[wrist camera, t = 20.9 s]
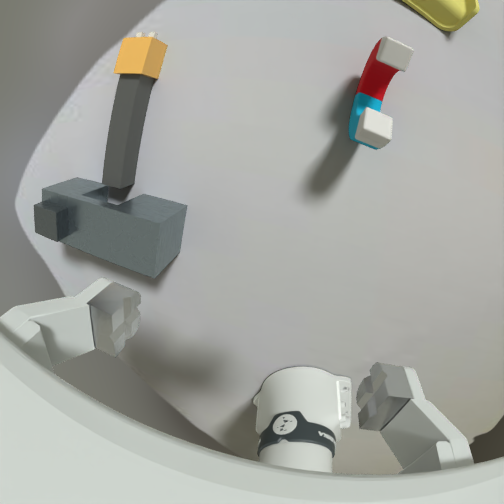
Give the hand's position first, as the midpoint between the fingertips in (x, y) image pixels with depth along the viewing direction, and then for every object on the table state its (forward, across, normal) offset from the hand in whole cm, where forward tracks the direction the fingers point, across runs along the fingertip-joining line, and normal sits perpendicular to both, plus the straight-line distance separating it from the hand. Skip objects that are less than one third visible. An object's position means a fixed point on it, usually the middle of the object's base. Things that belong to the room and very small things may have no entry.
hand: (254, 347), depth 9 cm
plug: (+27, +23, -7) cm, 36 cm away
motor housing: (+27, +23, +8) cm, 36 cm away
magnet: (+27, -6, -14) cm, 31 cm away
